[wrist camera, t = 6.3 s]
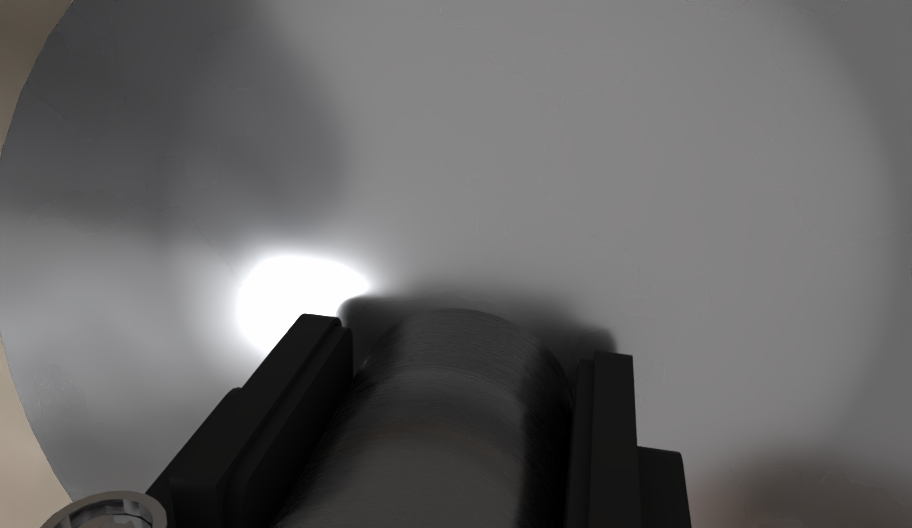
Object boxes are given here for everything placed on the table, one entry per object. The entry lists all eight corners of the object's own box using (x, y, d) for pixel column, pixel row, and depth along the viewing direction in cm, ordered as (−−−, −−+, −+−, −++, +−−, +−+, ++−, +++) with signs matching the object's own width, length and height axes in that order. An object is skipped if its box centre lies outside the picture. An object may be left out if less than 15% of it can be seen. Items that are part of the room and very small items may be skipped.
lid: (911, 776, 14) (1062, 1202, 9) (132, 664, 17) (-52, 946, 12) (1205, -235, 8) (2093, -480, 3) (-101, -138, 11) (-657, -191, 6)
